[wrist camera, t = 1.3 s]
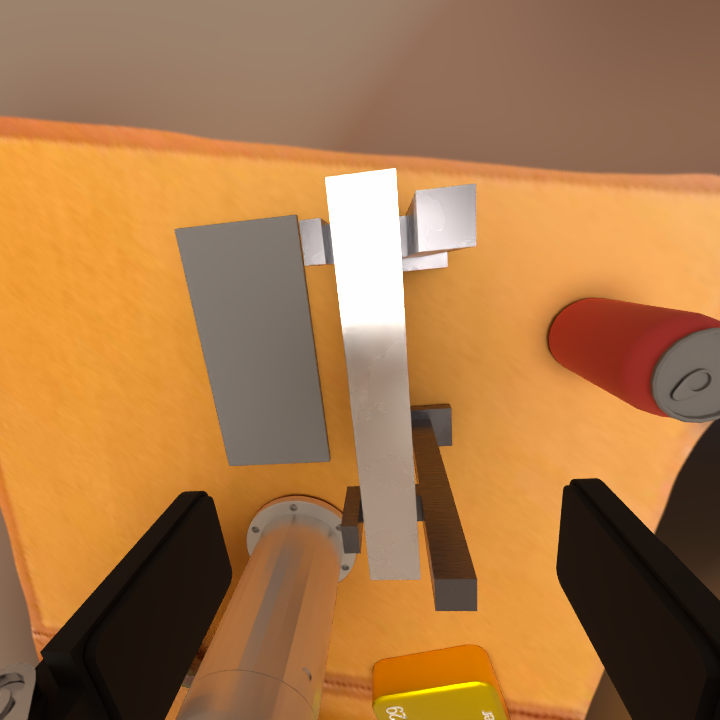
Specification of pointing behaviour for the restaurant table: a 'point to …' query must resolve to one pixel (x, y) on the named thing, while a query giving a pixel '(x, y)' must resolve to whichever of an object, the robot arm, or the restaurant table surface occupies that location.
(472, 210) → the hook stand
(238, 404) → the mat
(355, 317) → the rail
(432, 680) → the element tile
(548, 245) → the restaurant table surface
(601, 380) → the beer can
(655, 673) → the robot arm
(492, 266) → the restaurant table surface
